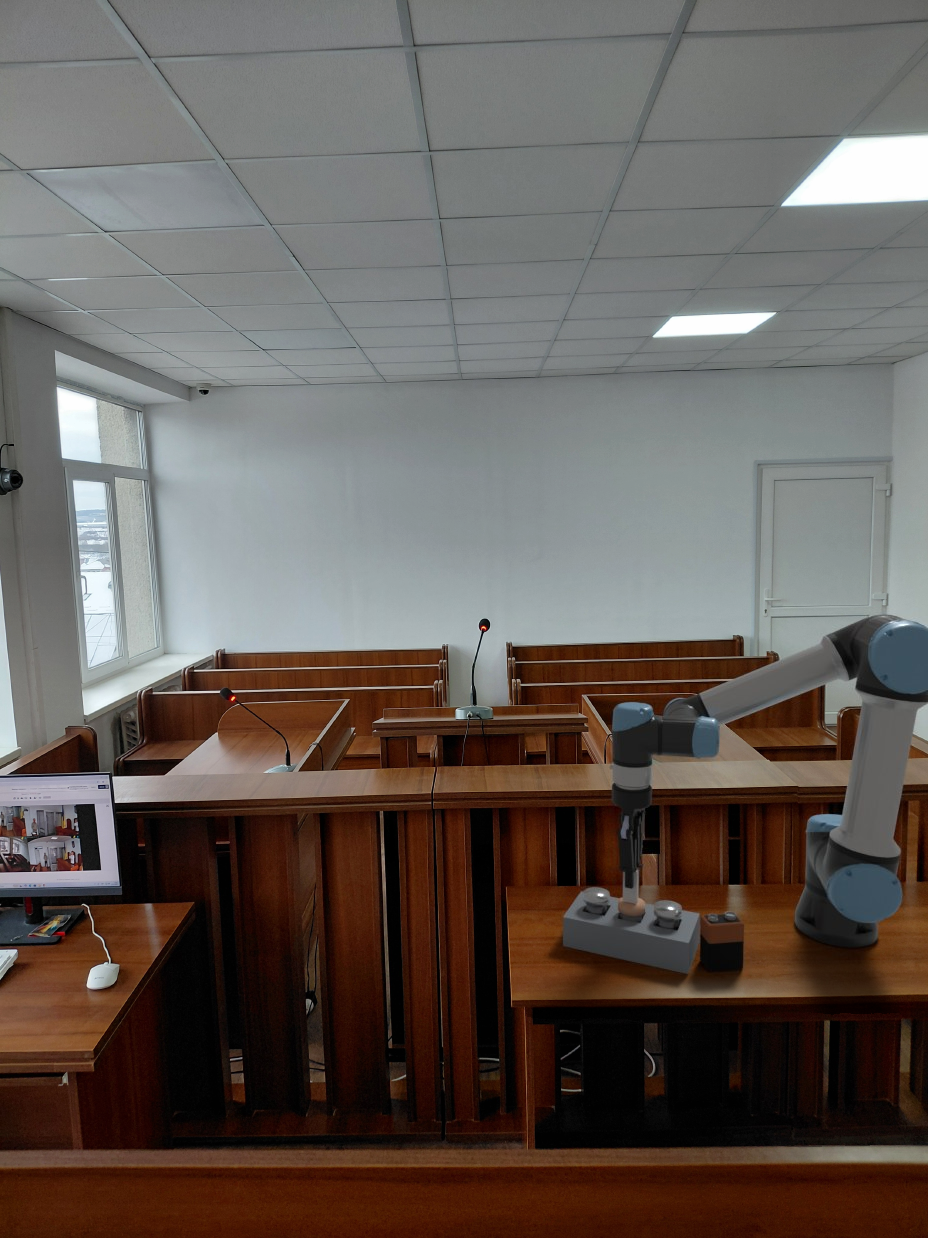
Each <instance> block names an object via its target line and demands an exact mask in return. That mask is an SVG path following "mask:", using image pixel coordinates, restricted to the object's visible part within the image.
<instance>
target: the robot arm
mask: <svg viewBox="0 0 928 1238" xmlns="http://www.w3.org/2000/svg"><path fill="white" fill-rule="evenodd" d="M854 679H856V681H855V688H854V690H855V691H856V693H857V694H858V695H859V697H860V698H861V700H862V702H861V708H860V713H859V719H858V724H857V730H856V736H855V741H854V746H853V752H852V753H853V754H852V757H851V758H852V759H851V765H850V768H849V769H850V770H849V775H848V780H847V781H848V782H847V787H846V792H845V796H844V797H845V798H844V803H843V808H842V814H832V813H831V814H830V813H825V814H816V815H812V816H810V818H809V819H807V824H806V830H805V834H806V841H805V842H806V844H805V845H806V846H805V849H806V850H805V856H806V857H805V877H804V878H805V880H804V881H805V882H804V885H805V886H804V889H803V891H802V893H801V895H800V898H799V900H798V902H797V906H796V908H795V912H794V924H795V927H796V928H797V929H798V931H800V932H801V933H802V934H803V935H805V936H807V937H809V938H811V939H813V940H815V941H818V942H820V943H823V944H826V945H830V946H835V947H839V948H840V947H841V948H863V947H867V946H870V945H873V944H874V943H876V941H877V940H878V936H879V925H878V922H882V921H883V920H884V919H885V920H886V919H887V918H890V917H892V916H893V915H894V914H895V913H896V912H897V911H898V910H899V908H900V906H901V905H902V901H903V894H904V893H903V889H902V884H901V880H899V877H897V874H898V868H899V864H900V857H901V853H902V849H901V847H900V846H899V845H898V844H897V842H896V841H895V839H894V836H895V830H896V825H897V819H898V814H899V810H900V809H899V808H900V804H901V799H902V794H903V788H904V783H905V777H906V773H907V772H906V771H907V766H908V761H909V756H910V750H911V745H912V740H913V734H914V729H915V725H916V719H917V715H918V710H920V709H921V708H923V707H925V706H926V705H928V627H927V626H925V625H924V624H922V623H919V622H917V621H912V620H909V619H906V618H902V617H900V616H897V615H892V614H886V613H885V614H884V613H883V614H875V615H872V616H868V617H865V618H862V619H860V620H858V621H855V622H853V623H851V624H849V625H846V626H844V627H842V628H840V629H838V630H836V631H835V630H834V631H833V632H830V633H828V634H826V635H824V636H822V638H821V641H820V643H818V644H815V645H814V646H813V645H812V646H811V647H808V648H806V649H803V650H801V651H799V652H796V653H794V654H791V655H790V656H787V657H784V658H782V659H779V660H777V661H774V662H772V663H770V664H767V665H765V666H762V667H760V668H758V669H755V670H753V671H750V672H748V673H745V674H742V675H741V676H738V677H735V678H734V679H731V680H728V681H725V682H724V683H721V684H719V685H717V686H714V687H712V688H709V689H707V690H704V691H702V692H700V693H698V694H694V695H692V696H690V697H685V698H684V697H677V698H674V699H672V700H670V701H669V702H668V703H667V704H666V706H665V708H664V710H663V714H662V715H657V714H655V713H654V709H653V707H652V705H650V704H648V703H644V702H637V701H636V702H635V701H634V702H633V701H630V702H629V701H628V702H622V703H619V704H616V705H615V707H614V708H613V712H612V713H613V714H612V727H611V732H612V733H611V738H612V741H611V743H612V744H611V745H612V746H611V751H612V754H611V756H612V760H611V761H612V763H611V764H609V766H608V768H609V769H610V770H612V773H611V780H612V782H613V783H612V784H611V802H612V803H613V805H615V806H616V807H619V808H620V809H621V813H619V815H618V823H619V825H620V826H619V827H617V829H616V836H617V840H618V841H617V843H618V857H619V858H618V859H619V866H618V870H619V871H620V872H622V897H623V901H624V902H629V903H634V904H637V902H638V898H639V884H640V883H639V878H640V877H639V875H640V874H639V873H640V869H643V868H644V863H642V862H641V863H640V861H642V859H643V856H642V854H643V851H642V850H643V837H644V826H645V825H644V821H645V815H646V810H645V809H646V808H649V807H650V806H651V805H652V801H653V799H652V797H653V787H652V786H651V785H652V783H653V756H663V757H664V756H665V757H678V758H679V757H681V758H696V759H705V758H706V759H708V758H710V759H711V758H715V757H716V756H718V754H719V753H720V752H719V751H720V726H723V725H727V724H728V723H730V722H731V723H732V722H733V721H735V720H738V719H740V718H743V717H746V716H749V715H751V714H754V713H756V712H759V711H761V710H764V709H767V708H768V707H771V706H774V705H776V704H779V703H781V702H783V701H784V702H785V701H786V700H789V699H791V698H794V697H797V696H799V695H801V694H802V695H803V694H804V693H807V692H809V691H811V690H812V691H813V690H814V689H817V688H819V687H822V686H824V685H827V684H830V683H832V682H834V681H837V680H841V681H844V682H846V683H847V682H849V681H851V680H854ZM639 868H640V869H639Z"/></svg>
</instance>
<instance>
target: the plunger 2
mask: <svg viewBox="0 0 928 1238" xmlns="http://www.w3.org/2000/svg"><path fill="white" fill-rule="evenodd" d="M653 905H654V915H655V916H656V917H657V927H662V928H667V929H672V930H677V931H678V923H679V919H680V918H681V917H682V910H683V907H682V905H681V904H680V903H678V902H676V901H674V900H673V901H672V900H667V899H665V900H659V901H656V902H654V904H653Z"/></svg>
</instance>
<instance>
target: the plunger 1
mask: <svg viewBox="0 0 928 1238" xmlns="http://www.w3.org/2000/svg"><path fill="white" fill-rule="evenodd" d="M610 897H611V894H610V892H609V890H607V889H605V888H603V887H597V886H593V887H588V888H585V889H584V890H583V901H584V902H585V903H586V912H588V913H593V914H598V915H603V916H605V914H606V913H607V905H608V904H609V902H610Z"/></svg>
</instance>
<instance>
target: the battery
mask: <svg viewBox="0 0 928 1238" xmlns="http://www.w3.org/2000/svg"><path fill="white" fill-rule="evenodd" d="M737 915H738V914H737V913H736V912H735V911H731V910H727V911H725V912H724V913H709V914H702V915H700V932H699V960H700V963H702V964H703V966H704V967H705V968H706V970H707V971H708V972H709V973H713V972H714V973H715V972H716V973H717V972H728V971H737V970H742V969H744V952H745V951H744V949H745V948H744V947H745V945H744V942H745V939H744V938H745V923H744V922H743V921H742V920H741V919H740V918H739V917H738V916H737Z"/></svg>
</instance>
